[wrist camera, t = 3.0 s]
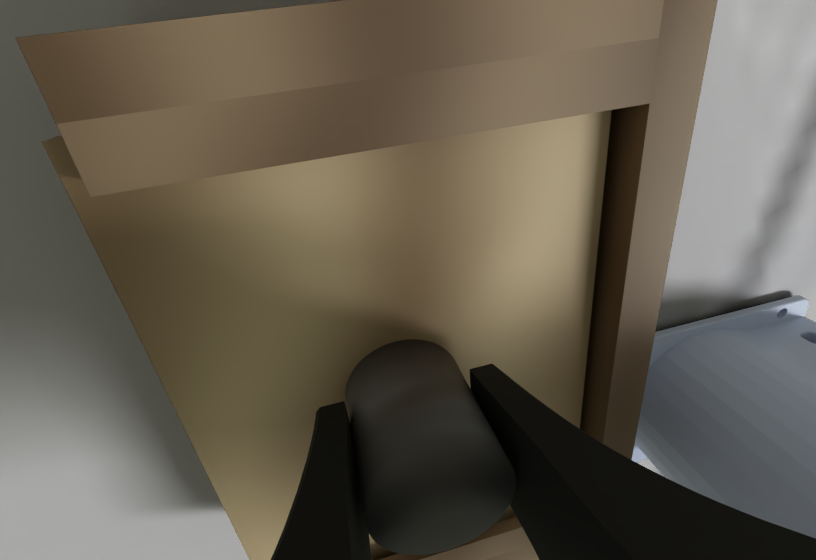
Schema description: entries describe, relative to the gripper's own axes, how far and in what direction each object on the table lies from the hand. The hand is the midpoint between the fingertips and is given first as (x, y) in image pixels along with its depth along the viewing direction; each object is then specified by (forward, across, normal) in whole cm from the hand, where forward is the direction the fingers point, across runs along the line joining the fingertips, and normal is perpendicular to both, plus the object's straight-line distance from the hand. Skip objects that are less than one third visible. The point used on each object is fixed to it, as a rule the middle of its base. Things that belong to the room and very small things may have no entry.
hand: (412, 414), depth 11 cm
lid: (+2, 0, 0) cm, 2 cm away
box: (+5, -1, 0) cm, 5 cm away
